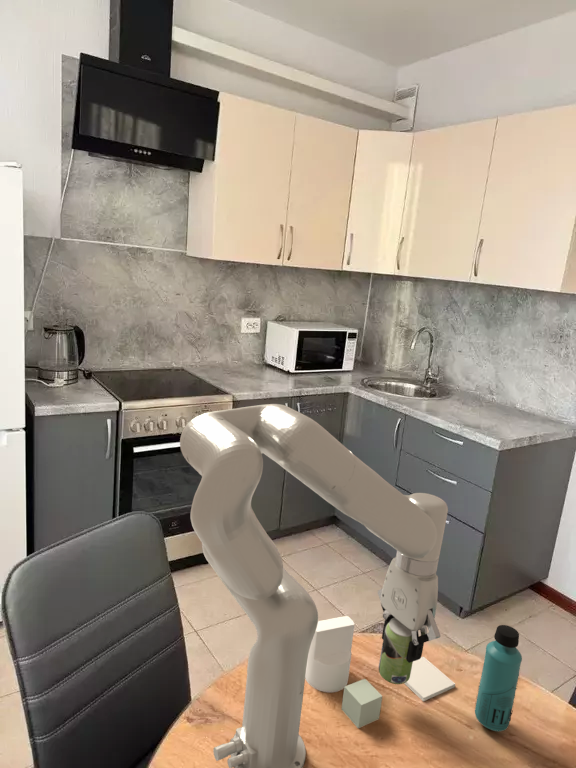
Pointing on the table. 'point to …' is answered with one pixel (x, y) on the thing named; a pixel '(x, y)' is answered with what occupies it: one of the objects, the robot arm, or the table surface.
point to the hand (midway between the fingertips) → (400, 648)
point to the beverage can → (395, 653)
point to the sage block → (361, 703)
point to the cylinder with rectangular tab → (330, 654)
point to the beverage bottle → (499, 680)
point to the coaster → (427, 680)
